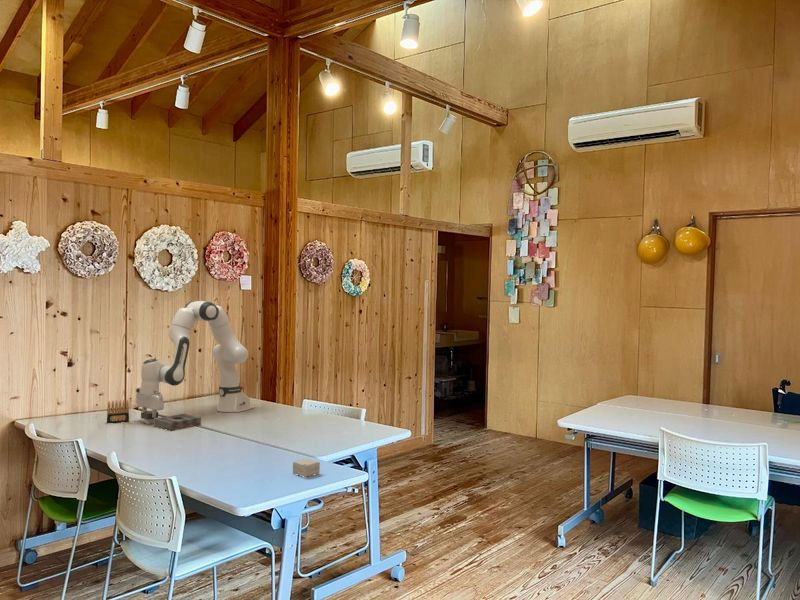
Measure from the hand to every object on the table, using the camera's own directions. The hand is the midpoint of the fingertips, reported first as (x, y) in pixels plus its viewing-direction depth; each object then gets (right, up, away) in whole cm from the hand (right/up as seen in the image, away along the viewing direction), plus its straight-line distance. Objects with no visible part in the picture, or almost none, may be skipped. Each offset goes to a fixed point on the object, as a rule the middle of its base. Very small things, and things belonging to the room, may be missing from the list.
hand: (149, 416), depth 332 cm
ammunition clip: (-16, -4, -1) cm, 17 cm away
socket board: (+16, -4, -4) cm, 17 cm away
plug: (0, -4, 0) cm, 4 cm away
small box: (+95, -9, -80) cm, 125 cm away
